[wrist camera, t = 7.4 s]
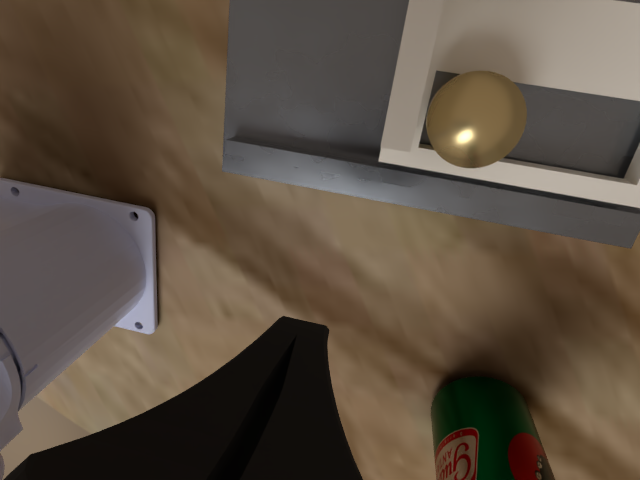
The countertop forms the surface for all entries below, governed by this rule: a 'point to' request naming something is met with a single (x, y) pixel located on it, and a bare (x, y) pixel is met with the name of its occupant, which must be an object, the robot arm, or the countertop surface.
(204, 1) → the countertop surface
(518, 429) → the soda can
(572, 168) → the boss plate
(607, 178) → the panel
